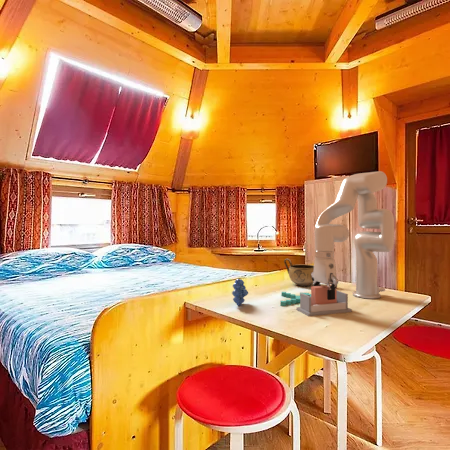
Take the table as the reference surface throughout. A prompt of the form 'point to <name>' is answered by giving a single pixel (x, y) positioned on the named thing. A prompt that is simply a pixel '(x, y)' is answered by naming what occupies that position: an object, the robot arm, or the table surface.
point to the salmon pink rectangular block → (321, 295)
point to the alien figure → (293, 297)
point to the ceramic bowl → (300, 273)
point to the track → (324, 305)
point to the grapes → (239, 292)
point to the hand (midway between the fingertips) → (323, 296)
